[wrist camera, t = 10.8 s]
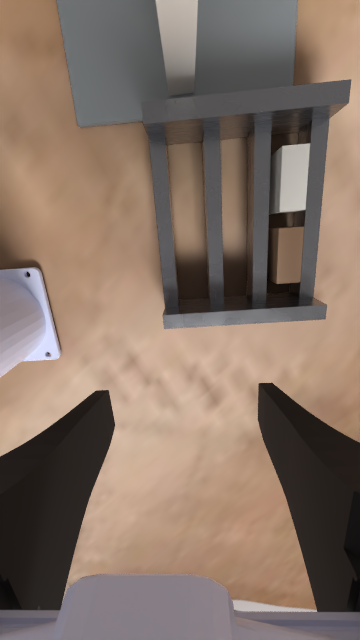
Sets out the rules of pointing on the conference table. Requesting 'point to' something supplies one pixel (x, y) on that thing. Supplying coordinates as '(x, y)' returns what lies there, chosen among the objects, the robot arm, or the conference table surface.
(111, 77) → the mat
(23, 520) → the robot arm
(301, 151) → the offcut grey
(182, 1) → the sheet
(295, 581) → the conference table surface
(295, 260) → the offcut walnut
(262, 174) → the rack
